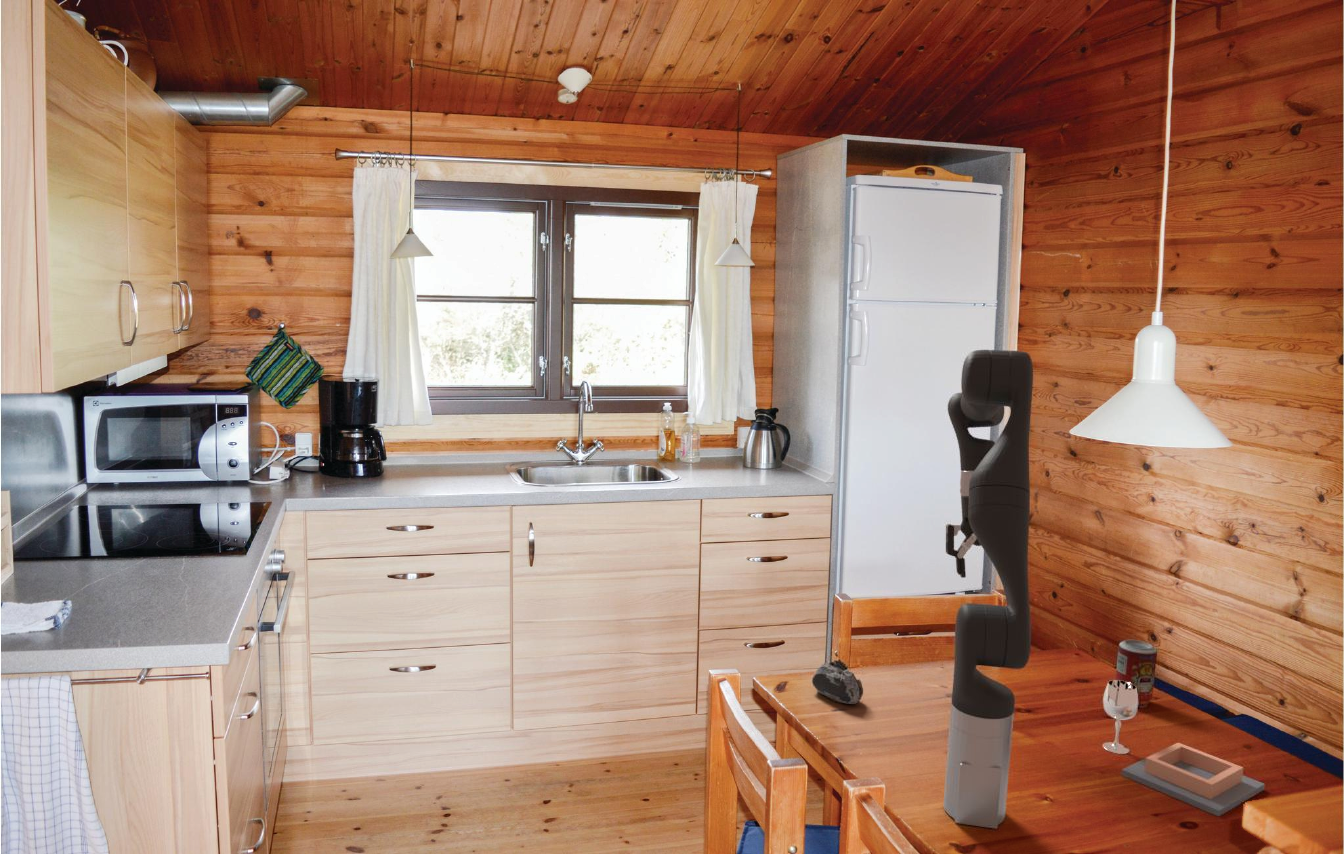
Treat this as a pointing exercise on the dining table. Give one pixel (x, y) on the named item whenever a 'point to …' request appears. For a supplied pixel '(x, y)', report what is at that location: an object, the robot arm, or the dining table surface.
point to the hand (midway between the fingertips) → (985, 576)
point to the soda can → (1137, 667)
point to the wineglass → (1119, 708)
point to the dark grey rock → (838, 682)
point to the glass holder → (1195, 778)
